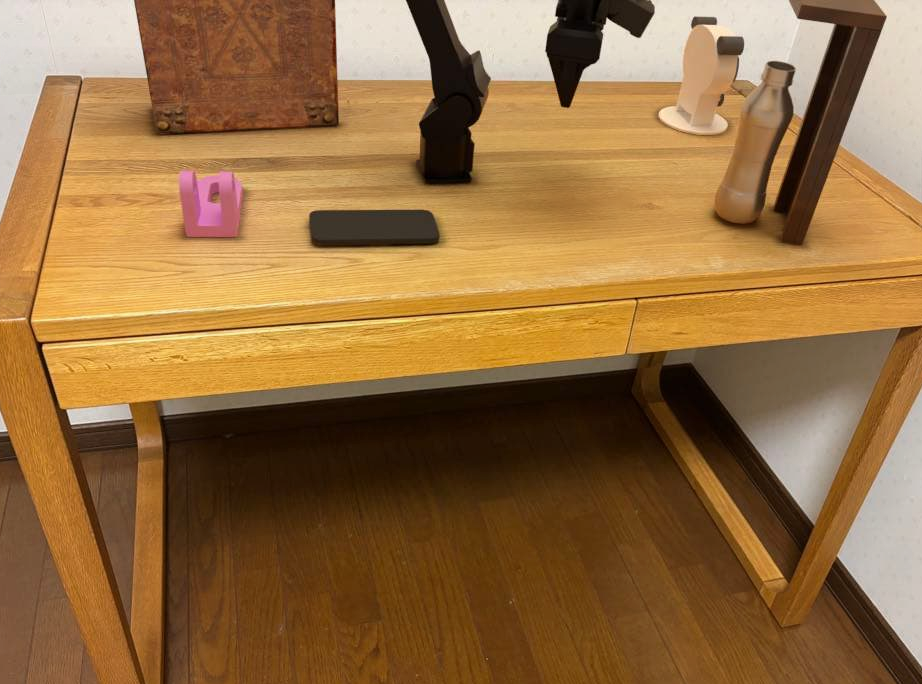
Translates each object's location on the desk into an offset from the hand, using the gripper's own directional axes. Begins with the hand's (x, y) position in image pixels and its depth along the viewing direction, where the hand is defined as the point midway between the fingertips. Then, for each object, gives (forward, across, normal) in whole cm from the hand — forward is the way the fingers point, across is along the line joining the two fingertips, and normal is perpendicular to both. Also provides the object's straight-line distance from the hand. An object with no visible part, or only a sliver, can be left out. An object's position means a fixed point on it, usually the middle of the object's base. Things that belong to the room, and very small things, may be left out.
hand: (568, 94), depth 106 cm
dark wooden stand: (+13, 0, -28) cm, 31 cm away
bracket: (+13, -20, +39) cm, 46 cm away
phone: (+13, -19, +20) cm, 30 cm away
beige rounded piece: (+13, +33, -20) cm, 41 cm away
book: (+13, +8, +46) cm, 49 cm away
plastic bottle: (+13, 0, -24) cm, 28 cm away
